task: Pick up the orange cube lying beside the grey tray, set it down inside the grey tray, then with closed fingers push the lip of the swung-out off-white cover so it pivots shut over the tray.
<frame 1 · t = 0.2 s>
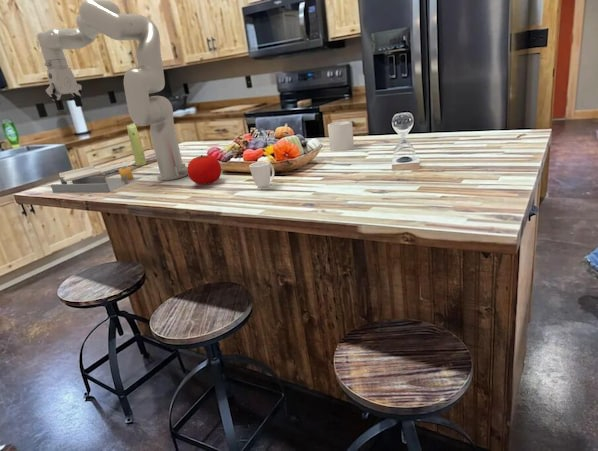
hand: (70, 108, 177), 31 cm above the countertop, fingers open, 9 cm apart
tomato: (207, 184, 154), on the countertop
mug: (341, 148, 182), on the countertop
orange cube: (127, 179, 176), resting on grey tray
tube: (141, 165, 204), on the countertop
cup: (266, 186, 141), on the countertop
grey tray: (91, 188, 171), on the countertop
cover: (80, 177, 178), point 3 cm above the countertop, hinge at 60.0°
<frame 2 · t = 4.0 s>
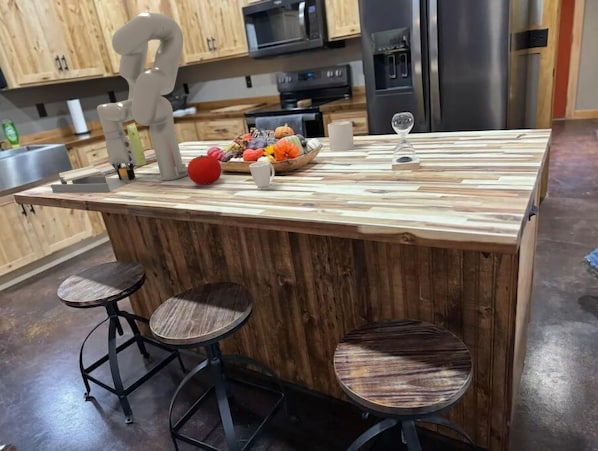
hand: (127, 178, 176), 1 cm above the countertop, fingers closed on orange cube, 4 cm apart
orange cube: (127, 179, 176), resting on grey tray, touching gripper
everything else where it was.
when the fingers open (3 cm above the countertop, at t = 8.2 s): orange cube drops 2 cm, resting on grey tray.
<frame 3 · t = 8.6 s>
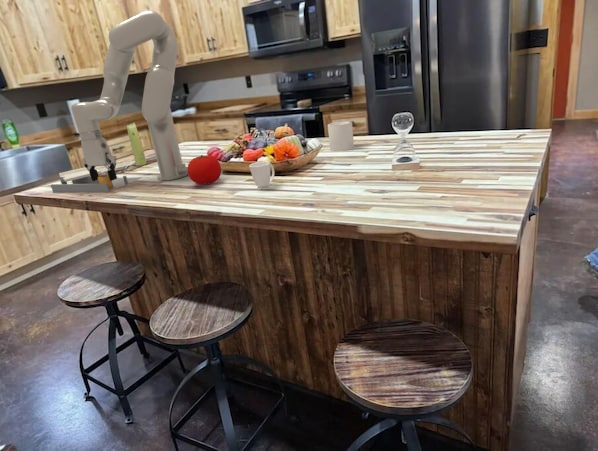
hand: (104, 179, 165), 4 cm above the countertop, fingers open, 9 cm apart
orange cube: (107, 187, 167), resting on grey tray
everything else where it was.
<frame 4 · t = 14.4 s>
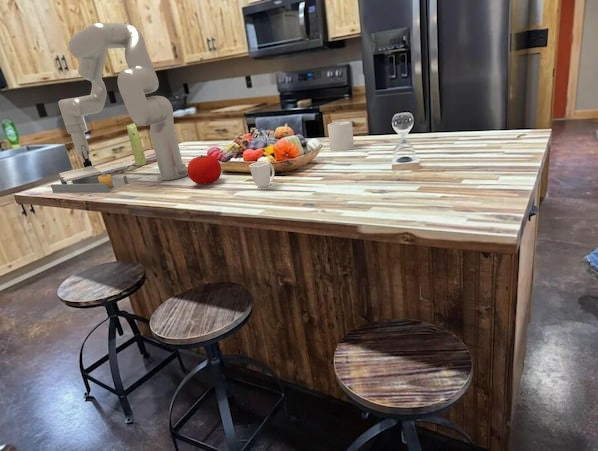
hand: (89, 170, 186), 4 cm above the countertop, fingers closed
cover: (80, 177, 178), point 3 cm above the countertop, hinge at 59.1°, touching gripper
everything else where it was.
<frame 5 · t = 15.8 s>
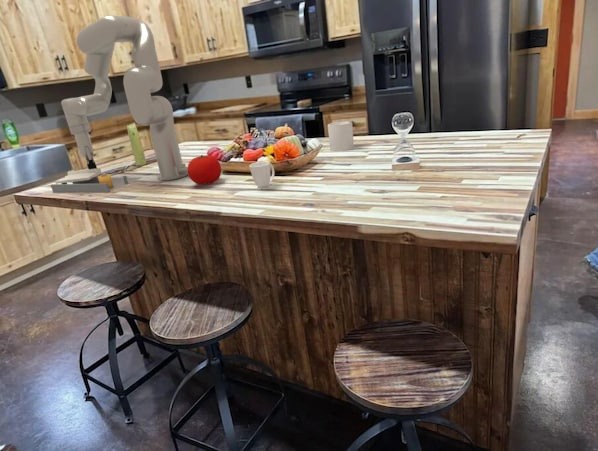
hand: (93, 172, 180), 4 cm above the countertop, fingers closed
cover: (78, 179, 174), point 3 cm above the countertop, hinge at 19.5°, touching gripper
everything else where it was.
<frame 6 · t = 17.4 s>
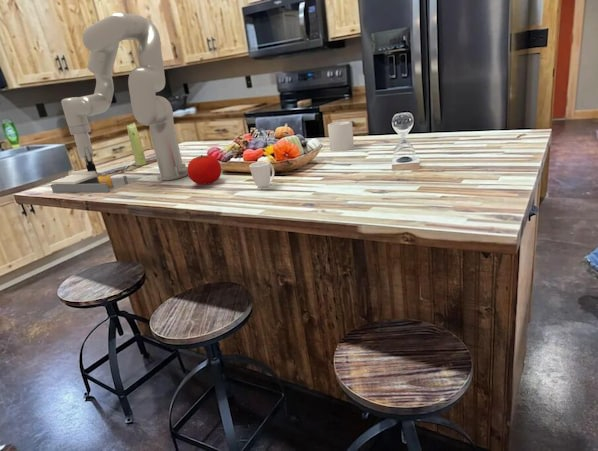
hand: (92, 173, 176), 4 cm above the countertop, fingers closed
cover: (74, 181, 172), point 3 cm above the countertop, hinge at -3.0°, touching gripper
everything else where it was.
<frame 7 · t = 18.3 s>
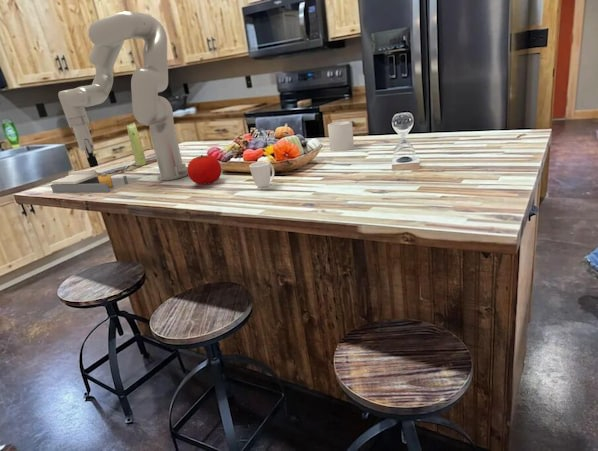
hand: (94, 166, 174), 7 cm above the countertop, fingers closed
cover: (74, 181, 172), point 3 cm above the countertop, hinge at -1.2°
everything else where it was.
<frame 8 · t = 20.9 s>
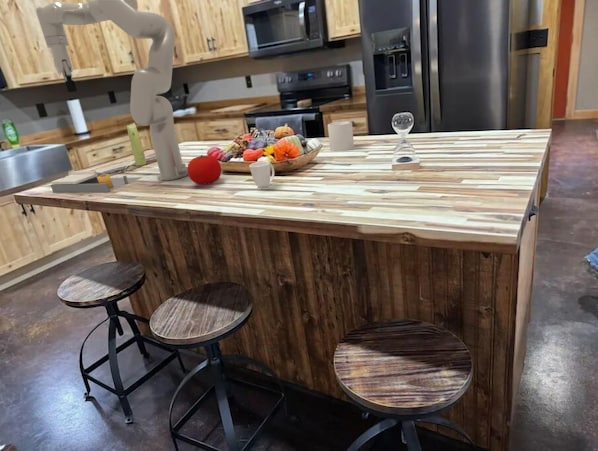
hand: (72, 91, 168), 37 cm above the countertop, fingers closed
nothing on the countertop moved.
at the end: orange cube inside the target area on the grey tray (1.1 cm from its centre), point 0.4 cm above the grey tray's base; the gripper is holding nothing; cover at -1° (first picture: +60°) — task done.
